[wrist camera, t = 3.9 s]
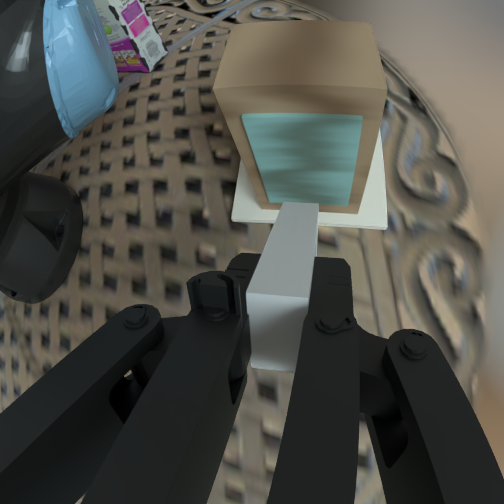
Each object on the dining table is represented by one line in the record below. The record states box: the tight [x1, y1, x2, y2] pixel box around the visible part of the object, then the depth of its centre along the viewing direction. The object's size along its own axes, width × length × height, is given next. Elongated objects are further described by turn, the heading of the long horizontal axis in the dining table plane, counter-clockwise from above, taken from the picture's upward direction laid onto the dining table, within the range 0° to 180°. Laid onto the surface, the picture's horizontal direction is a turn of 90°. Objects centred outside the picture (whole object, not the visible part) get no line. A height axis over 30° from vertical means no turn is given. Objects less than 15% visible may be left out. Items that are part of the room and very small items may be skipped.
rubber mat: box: [231, 128, 387, 230], centre depth 28 cm, size 13×16×1 cm
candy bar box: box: [93, 0, 168, 72], centre depth 31 cm, size 11×5×16 cm, turn 65°
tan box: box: [213, 20, 387, 214], centre depth 20 cm, size 8×6×14 cm
